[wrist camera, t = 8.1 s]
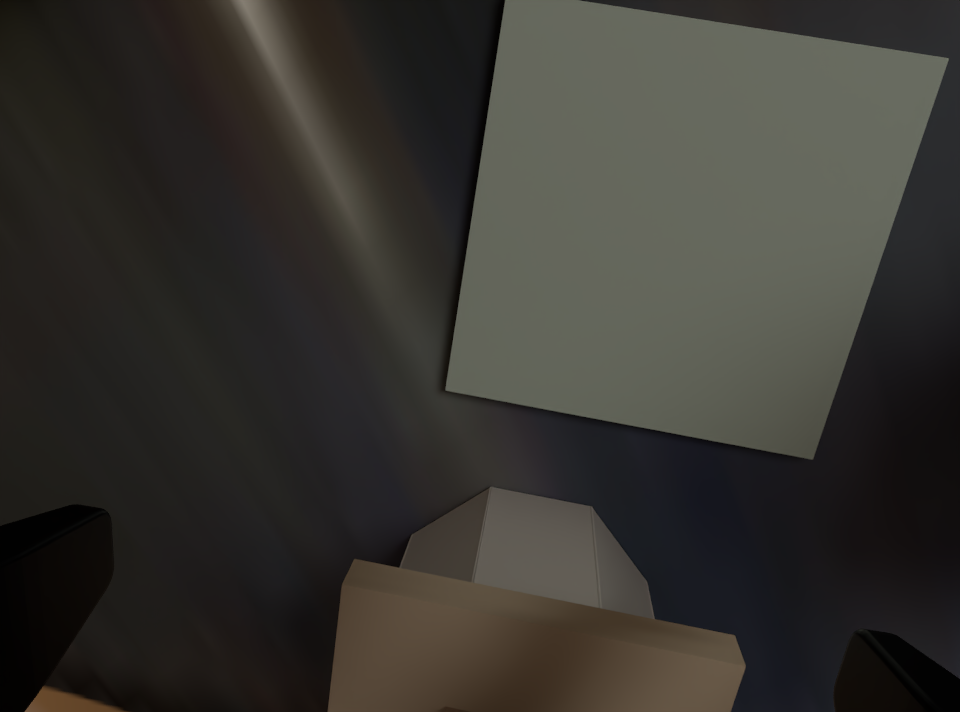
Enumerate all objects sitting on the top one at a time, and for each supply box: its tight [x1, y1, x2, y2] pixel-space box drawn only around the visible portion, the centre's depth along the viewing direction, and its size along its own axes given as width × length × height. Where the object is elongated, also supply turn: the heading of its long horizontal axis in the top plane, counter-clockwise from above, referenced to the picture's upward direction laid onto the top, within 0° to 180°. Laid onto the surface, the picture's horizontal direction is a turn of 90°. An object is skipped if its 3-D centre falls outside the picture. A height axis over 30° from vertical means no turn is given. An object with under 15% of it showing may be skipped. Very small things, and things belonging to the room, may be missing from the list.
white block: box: [399, 487, 655, 619], centre depth 21 cm, size 8×8×6 cm
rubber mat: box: [445, 0, 949, 460], centre depth 19 cm, size 11×11×1 cm
